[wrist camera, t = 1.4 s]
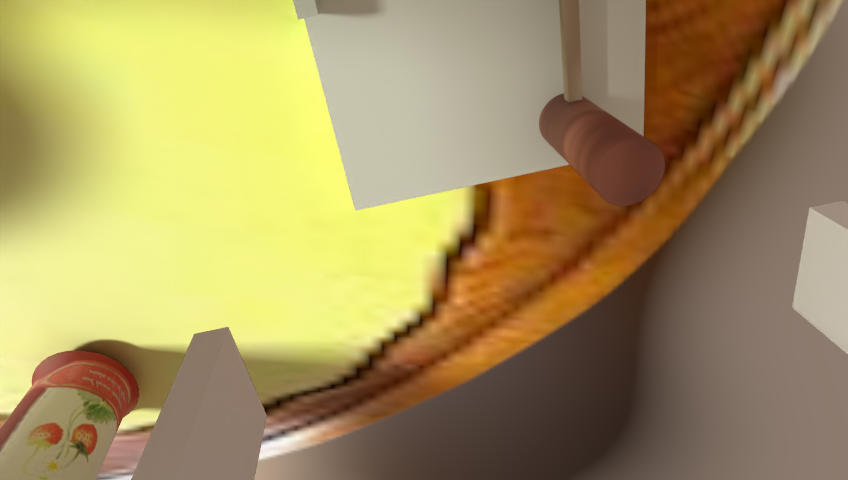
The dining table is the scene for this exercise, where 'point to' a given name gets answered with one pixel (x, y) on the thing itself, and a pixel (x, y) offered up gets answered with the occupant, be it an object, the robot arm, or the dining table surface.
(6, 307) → the dining table surface
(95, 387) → the liquor
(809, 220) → the robot arm
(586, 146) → the tethered block
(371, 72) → the white compartment tray
